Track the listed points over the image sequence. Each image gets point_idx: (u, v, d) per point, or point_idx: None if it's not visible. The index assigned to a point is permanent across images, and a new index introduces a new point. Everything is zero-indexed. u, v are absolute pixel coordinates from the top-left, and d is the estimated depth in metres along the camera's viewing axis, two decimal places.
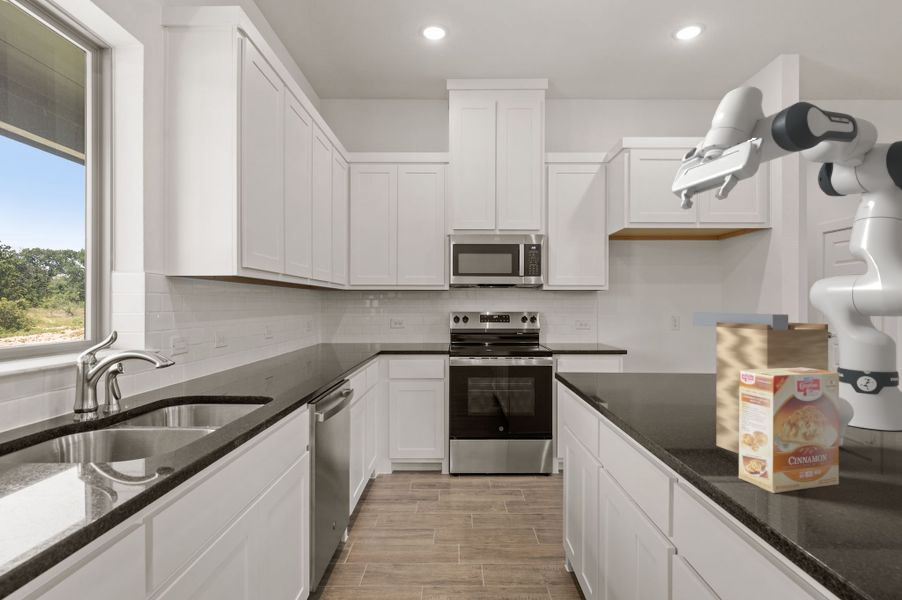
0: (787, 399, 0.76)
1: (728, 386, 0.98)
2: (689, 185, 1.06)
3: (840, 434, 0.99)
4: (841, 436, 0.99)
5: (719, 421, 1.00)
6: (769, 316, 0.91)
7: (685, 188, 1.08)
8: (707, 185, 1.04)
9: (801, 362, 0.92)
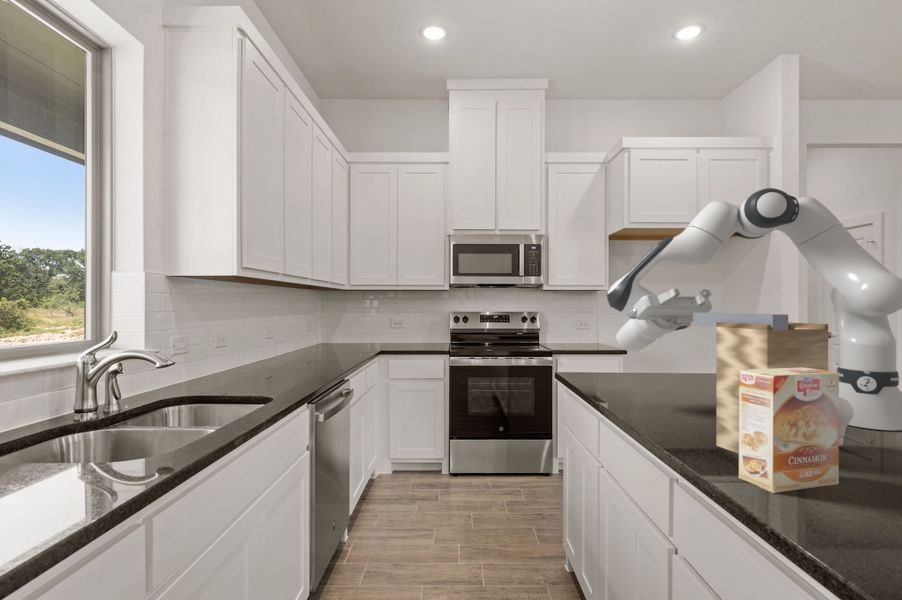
0: (787, 399, 0.76)
1: (728, 386, 0.98)
2: (695, 307, 1.17)
3: (840, 434, 0.99)
4: (841, 436, 0.99)
5: (719, 421, 1.00)
6: (769, 316, 0.91)
7: (699, 305, 1.18)
8: (681, 299, 1.18)
9: (801, 362, 0.92)
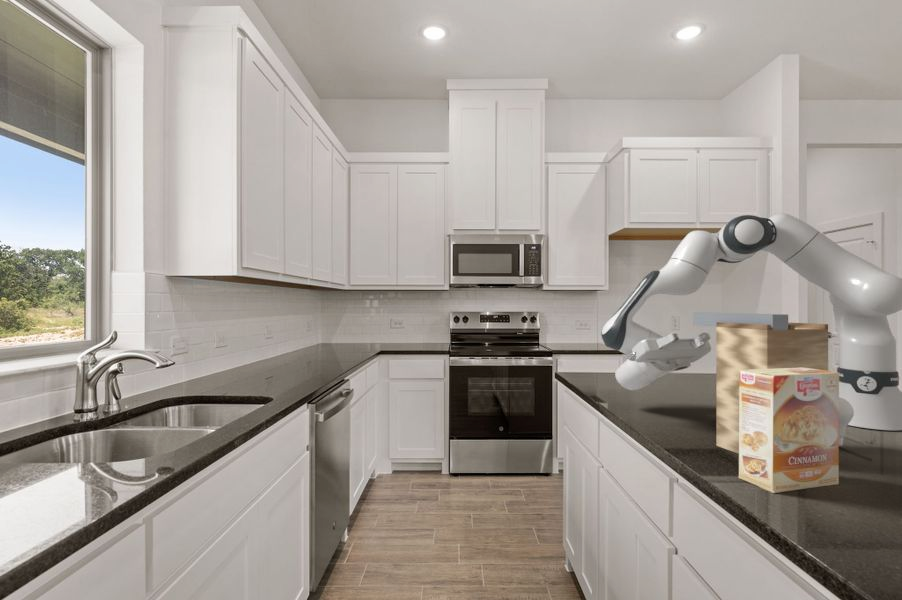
0: (787, 399, 0.76)
1: (728, 386, 0.98)
2: (694, 349, 1.17)
3: (840, 434, 0.99)
4: (841, 436, 0.99)
5: (719, 421, 1.00)
6: (769, 316, 0.91)
7: (698, 348, 1.17)
8: (680, 342, 1.18)
9: (801, 362, 0.92)
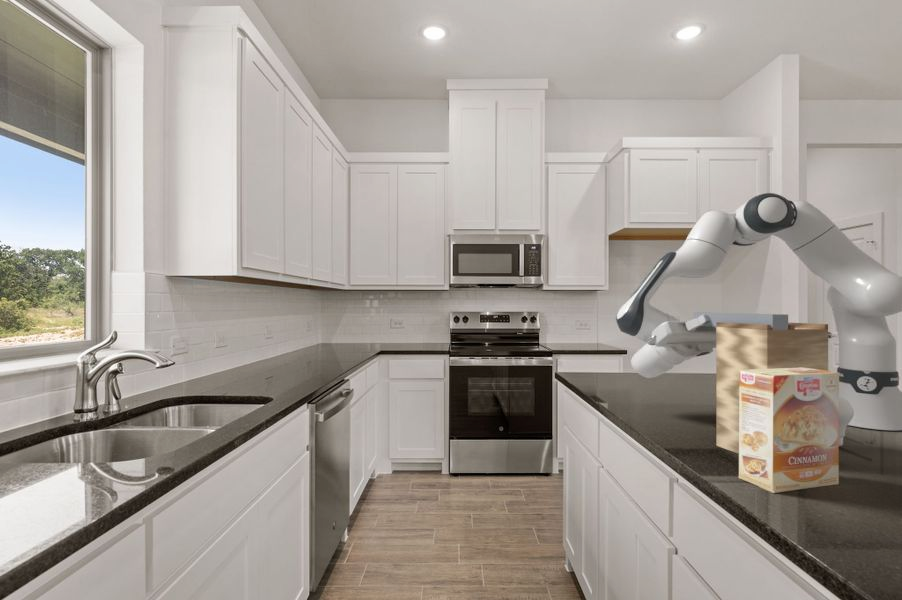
0: (787, 399, 0.76)
1: (728, 386, 0.98)
2: None
3: (840, 434, 0.99)
4: (841, 436, 0.99)
5: (719, 421, 1.00)
6: (769, 316, 0.91)
7: None
8: None
9: (801, 362, 0.92)
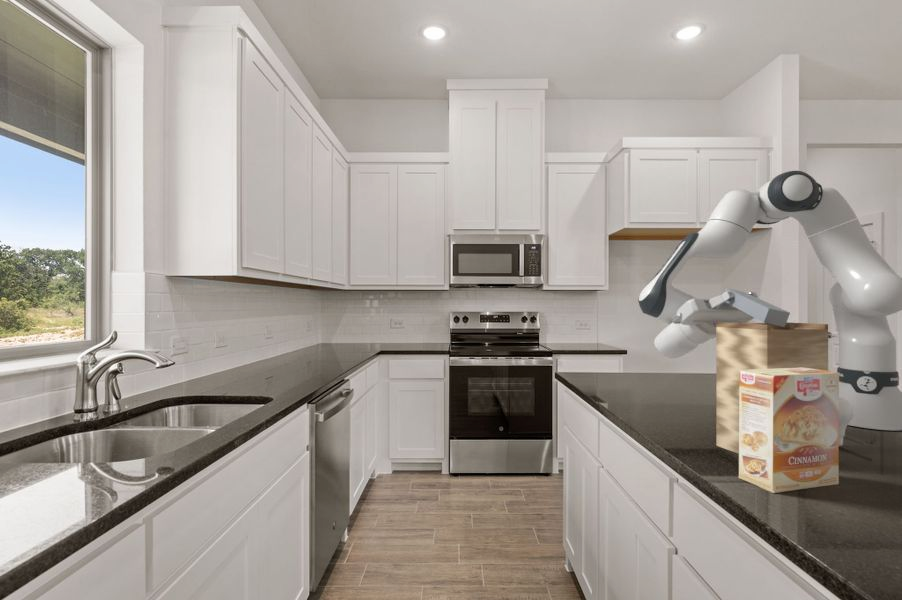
0: (787, 399, 0.76)
1: (728, 386, 0.98)
2: None
3: (840, 434, 0.99)
4: (841, 436, 0.99)
5: (719, 421, 1.00)
6: (766, 309, 0.92)
7: None
8: None
9: (801, 362, 0.92)
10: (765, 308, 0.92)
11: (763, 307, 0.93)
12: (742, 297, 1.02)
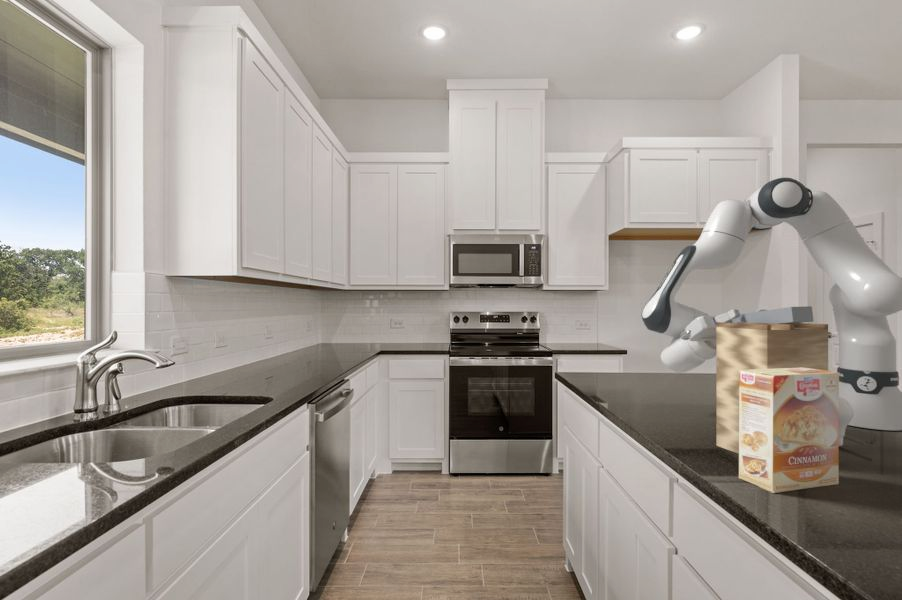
0: (787, 399, 0.76)
1: (728, 386, 0.98)
2: None
3: (840, 434, 0.99)
4: (841, 436, 0.99)
5: (719, 421, 1.00)
6: (789, 309, 0.92)
7: None
8: None
9: (801, 362, 0.92)
10: (787, 309, 0.92)
11: (784, 309, 0.93)
12: (754, 313, 1.02)
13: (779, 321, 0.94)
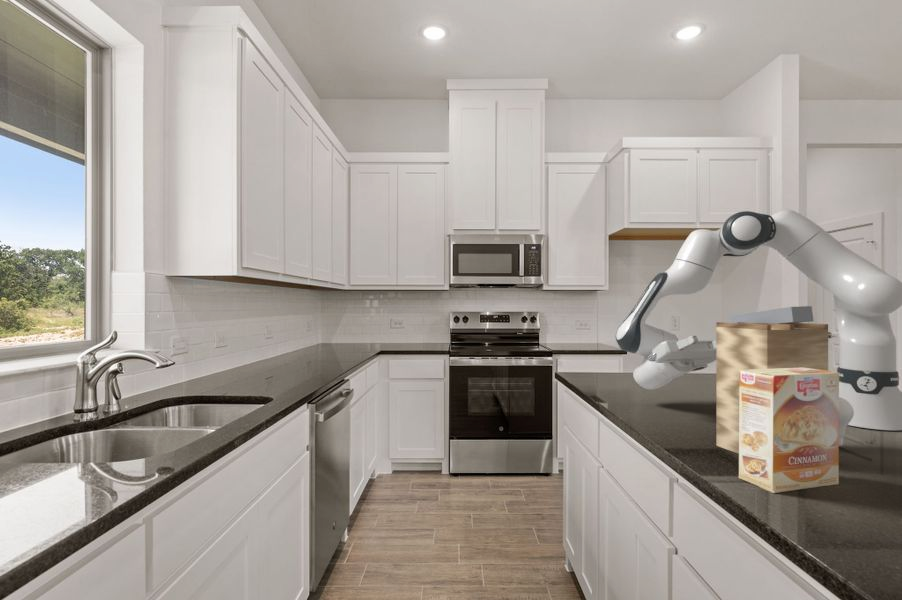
0: (787, 399, 0.76)
1: (728, 386, 0.98)
2: (712, 351, 1.23)
3: (840, 434, 0.99)
4: (841, 436, 0.99)
5: (719, 421, 1.00)
6: (789, 309, 0.92)
7: None
8: (698, 344, 1.23)
9: (801, 362, 0.92)
10: (787, 308, 0.92)
11: (784, 309, 0.93)
12: (754, 313, 1.02)
13: (779, 321, 0.94)
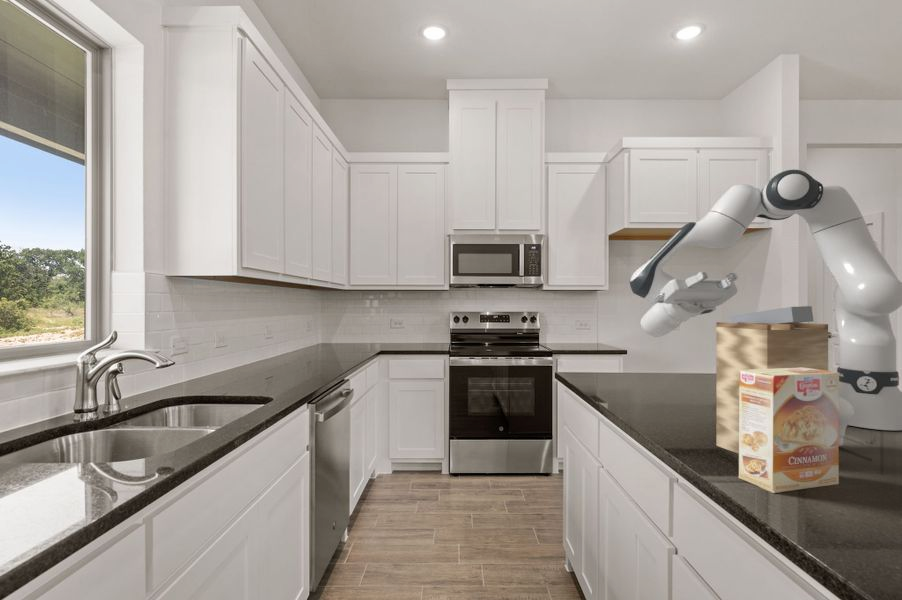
0: (787, 399, 0.76)
1: (728, 386, 0.98)
2: (721, 290, 1.21)
3: (840, 434, 0.99)
4: (841, 436, 0.99)
5: (719, 421, 1.00)
6: (789, 309, 0.92)
7: (725, 289, 1.21)
8: (707, 283, 1.21)
9: (801, 362, 0.92)
10: (787, 308, 0.92)
11: (784, 309, 0.93)
12: (754, 313, 1.02)
13: (779, 321, 0.94)
